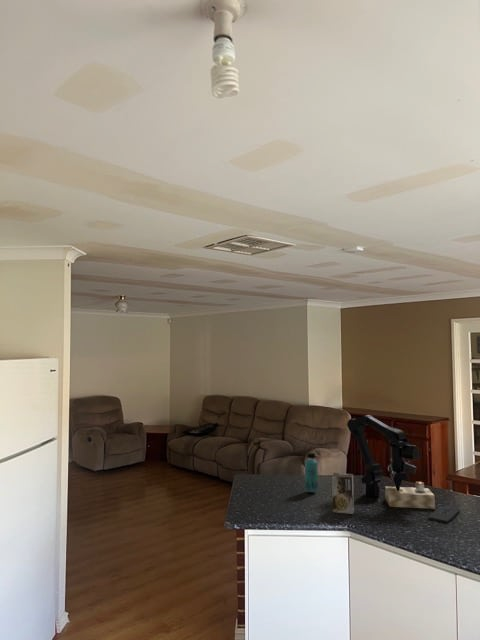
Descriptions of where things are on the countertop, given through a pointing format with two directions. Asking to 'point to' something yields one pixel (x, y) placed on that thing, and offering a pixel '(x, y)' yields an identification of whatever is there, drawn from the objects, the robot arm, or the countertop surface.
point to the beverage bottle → (311, 473)
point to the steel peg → (420, 487)
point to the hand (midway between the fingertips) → (398, 490)
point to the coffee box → (343, 493)
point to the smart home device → (444, 514)
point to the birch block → (409, 498)
